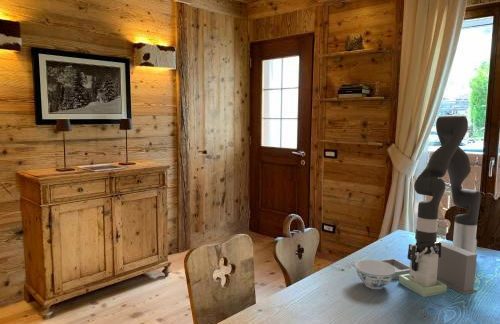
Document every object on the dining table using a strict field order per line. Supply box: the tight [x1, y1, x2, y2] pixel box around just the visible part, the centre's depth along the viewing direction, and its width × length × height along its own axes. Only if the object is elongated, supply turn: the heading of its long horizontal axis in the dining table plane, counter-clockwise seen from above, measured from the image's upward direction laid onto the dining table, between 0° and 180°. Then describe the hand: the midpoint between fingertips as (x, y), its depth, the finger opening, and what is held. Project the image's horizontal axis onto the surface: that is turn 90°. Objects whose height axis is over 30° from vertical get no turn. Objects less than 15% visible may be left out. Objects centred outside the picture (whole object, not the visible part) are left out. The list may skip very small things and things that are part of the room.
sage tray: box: [398, 274, 448, 298], centre depth 151 cm, size 11×13×3 cm
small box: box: [409, 253, 438, 288], centre depth 150 cm, size 8×6×13 cm
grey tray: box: [377, 257, 410, 280], centre depth 165 cm, size 11×13×3 cm
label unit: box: [437, 240, 478, 295], centre depth 154 cm, size 7×17×15 cm, turn 20°
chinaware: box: [355, 259, 396, 290], centre depth 151 cm, size 15×15×8 cm
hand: (423, 269), depth 150 cm, fingers open, 8 cm apart
